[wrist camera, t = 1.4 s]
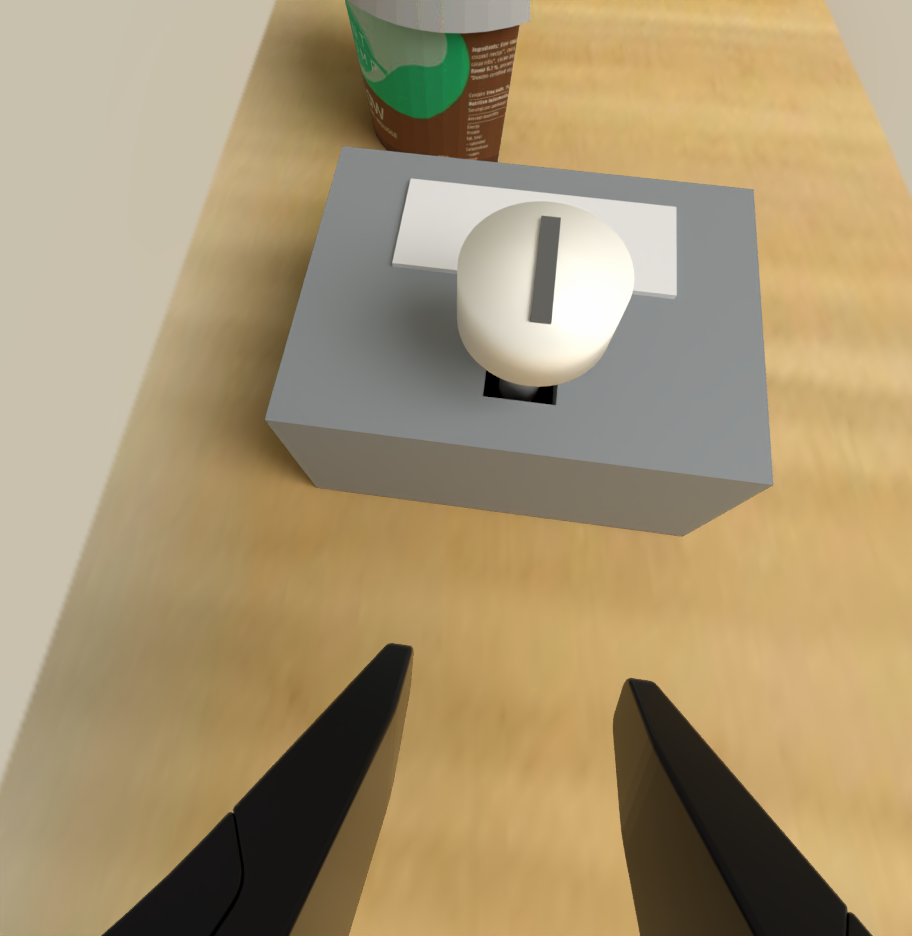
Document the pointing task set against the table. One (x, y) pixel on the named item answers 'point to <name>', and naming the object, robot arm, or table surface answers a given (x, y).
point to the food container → (438, 72)
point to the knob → (540, 294)
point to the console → (574, 402)
